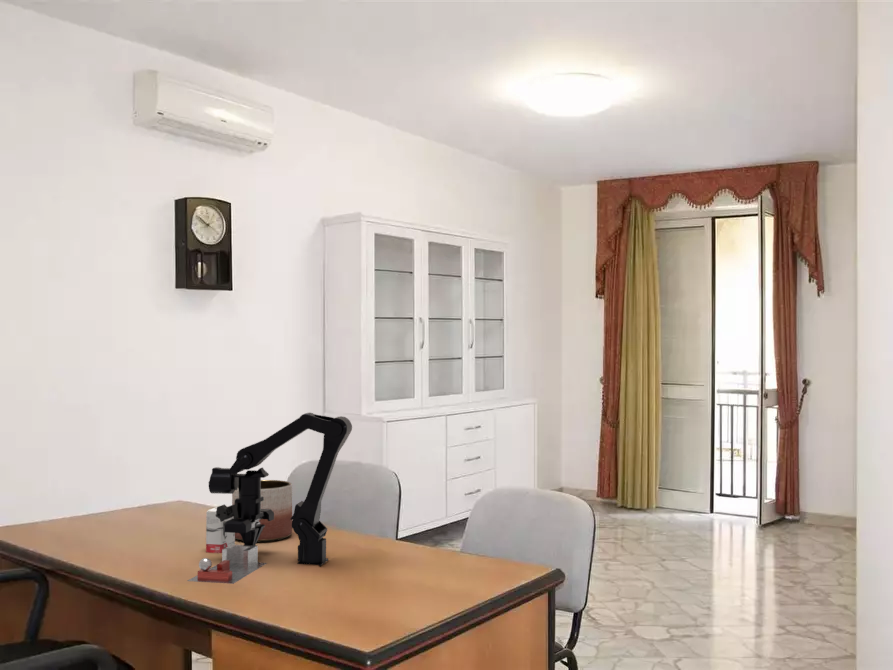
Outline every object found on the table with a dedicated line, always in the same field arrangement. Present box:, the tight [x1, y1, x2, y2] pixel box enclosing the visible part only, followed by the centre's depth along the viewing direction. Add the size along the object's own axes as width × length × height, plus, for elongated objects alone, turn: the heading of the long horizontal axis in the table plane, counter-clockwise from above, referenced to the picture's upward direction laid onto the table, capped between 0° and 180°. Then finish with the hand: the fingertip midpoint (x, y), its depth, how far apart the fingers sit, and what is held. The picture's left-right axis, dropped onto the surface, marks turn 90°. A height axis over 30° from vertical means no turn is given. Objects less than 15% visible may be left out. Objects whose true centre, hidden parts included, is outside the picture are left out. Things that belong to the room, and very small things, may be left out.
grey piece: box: [186, 557, 268, 585], centre depth 212 cm, size 12×20×6 cm, turn 169°
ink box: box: [205, 506, 236, 554], centre depth 237 cm, size 9×5×12 cm, turn 168°
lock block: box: [221, 543, 259, 569], centre depth 219 cm, size 7×6×4 cm
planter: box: [231, 479, 293, 543], centre depth 254 cm, size 18×18×16 cm
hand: (249, 553), depth 224 cm, fingers closed
